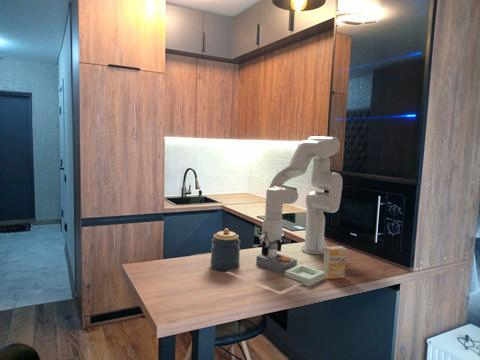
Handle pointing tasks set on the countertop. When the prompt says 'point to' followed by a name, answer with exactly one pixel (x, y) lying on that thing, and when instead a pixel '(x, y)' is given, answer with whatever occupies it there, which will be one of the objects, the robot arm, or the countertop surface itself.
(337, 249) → the supplement box
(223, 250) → the canister
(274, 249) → the cartridge
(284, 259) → the brown egg
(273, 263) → the housing
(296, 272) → the tray
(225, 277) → the countertop surface
